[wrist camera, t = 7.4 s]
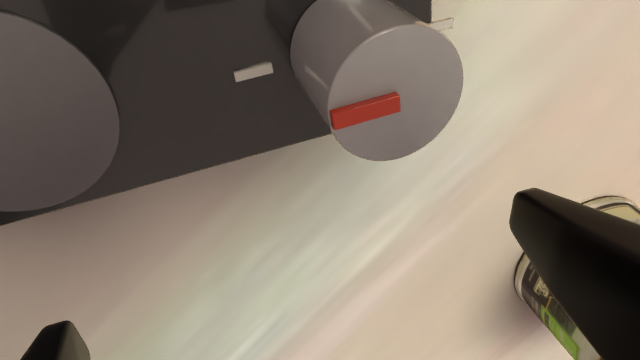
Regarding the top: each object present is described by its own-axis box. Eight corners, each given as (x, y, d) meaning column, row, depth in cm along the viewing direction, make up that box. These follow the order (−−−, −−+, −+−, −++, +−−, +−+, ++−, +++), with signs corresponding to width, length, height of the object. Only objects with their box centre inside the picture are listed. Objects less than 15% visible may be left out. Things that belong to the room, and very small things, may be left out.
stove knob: (398, -27, 17) (472, 11, 13) (403, 86, 20) (466, 144, 16) (279, 2, 16) (320, 51, 13) (300, 115, 19) (340, 182, 15)
